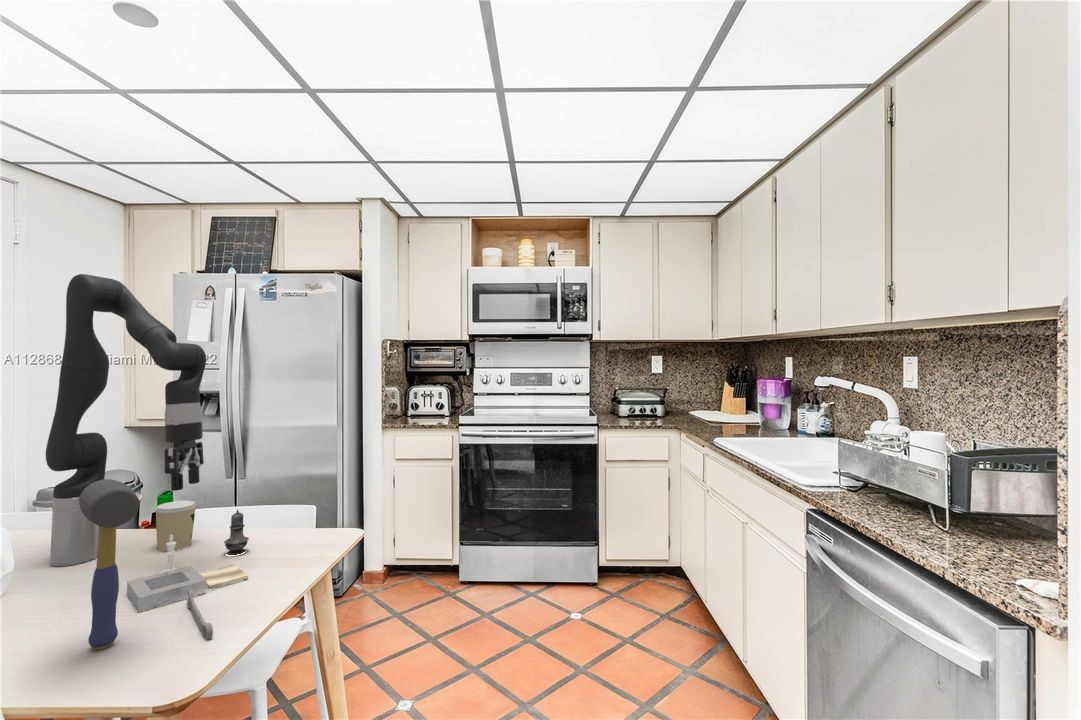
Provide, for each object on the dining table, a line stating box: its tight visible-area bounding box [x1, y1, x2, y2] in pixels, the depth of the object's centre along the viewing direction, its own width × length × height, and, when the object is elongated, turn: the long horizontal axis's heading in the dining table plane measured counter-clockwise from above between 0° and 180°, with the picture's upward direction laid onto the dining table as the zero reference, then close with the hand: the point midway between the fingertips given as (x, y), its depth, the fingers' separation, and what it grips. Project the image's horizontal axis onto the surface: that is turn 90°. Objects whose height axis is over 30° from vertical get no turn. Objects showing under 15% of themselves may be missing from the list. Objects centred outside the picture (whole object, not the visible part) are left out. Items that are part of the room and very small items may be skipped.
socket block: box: [126, 565, 207, 612], centre depth 109 cm, size 12×12×3 cm
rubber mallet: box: [79, 478, 140, 651], centre depth 89 cm, size 12×8×30 cm, turn 50°
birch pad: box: [199, 563, 249, 590], centre depth 118 cm, size 10×8×1 cm
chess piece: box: [160, 535, 177, 573], centre depth 119 cm, size 5×5×10 cm
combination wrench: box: [186, 590, 214, 641], centre depth 98 cm, size 4×1×20 cm
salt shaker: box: [223, 509, 250, 555], centre depth 134 cm, size 6×6×12 cm
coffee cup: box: [154, 500, 197, 553], centre depth 138 cm, size 9×9×12 cm
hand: (186, 486), depth 121 cm, fingers open, 8 cm apart
